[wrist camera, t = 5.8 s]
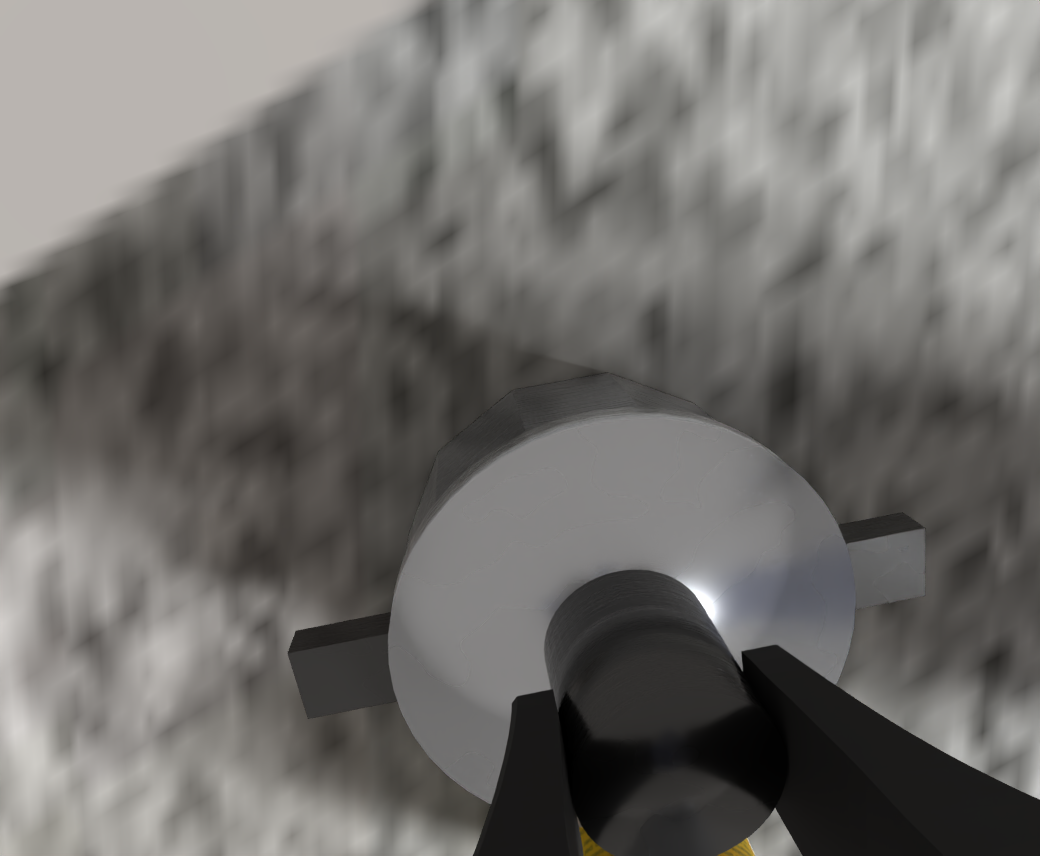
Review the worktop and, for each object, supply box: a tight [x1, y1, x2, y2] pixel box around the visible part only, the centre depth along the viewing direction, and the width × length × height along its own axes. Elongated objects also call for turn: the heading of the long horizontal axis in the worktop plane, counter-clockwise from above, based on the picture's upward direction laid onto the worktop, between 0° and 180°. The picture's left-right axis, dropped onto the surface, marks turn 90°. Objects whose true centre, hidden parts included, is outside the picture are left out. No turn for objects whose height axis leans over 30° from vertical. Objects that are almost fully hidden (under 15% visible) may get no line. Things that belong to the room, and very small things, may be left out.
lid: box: [388, 407, 856, 856], centre depth 13 cm, size 9×9×4 cm
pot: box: [288, 373, 926, 719], centre depth 17 cm, size 13×9×4 cm, turn 100°
